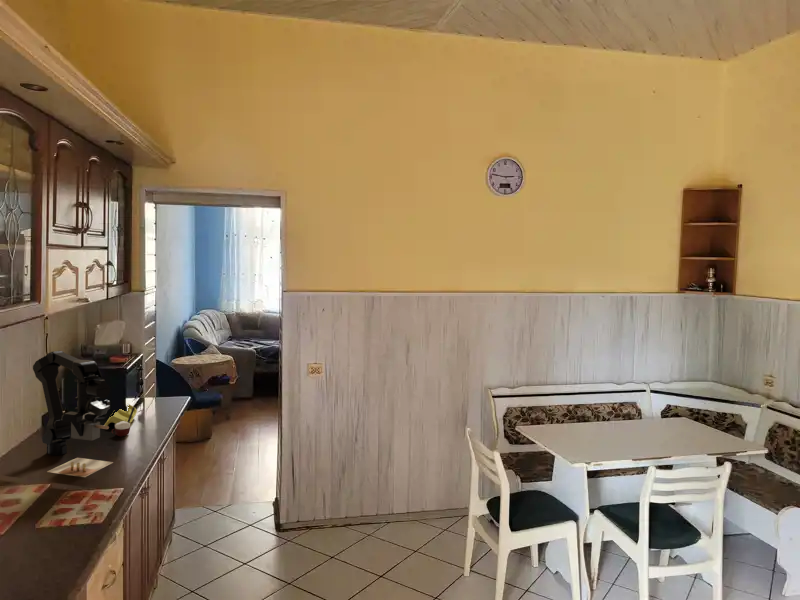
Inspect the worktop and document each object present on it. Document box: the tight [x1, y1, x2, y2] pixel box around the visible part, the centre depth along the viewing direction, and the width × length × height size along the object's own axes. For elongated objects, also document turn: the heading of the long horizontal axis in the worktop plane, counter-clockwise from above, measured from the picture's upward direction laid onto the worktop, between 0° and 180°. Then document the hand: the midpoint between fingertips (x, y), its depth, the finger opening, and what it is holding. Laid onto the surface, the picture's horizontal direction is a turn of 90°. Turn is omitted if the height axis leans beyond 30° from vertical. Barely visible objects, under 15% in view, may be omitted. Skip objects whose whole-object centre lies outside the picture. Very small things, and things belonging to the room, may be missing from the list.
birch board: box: [46, 457, 114, 478], centre depth 232 cm, size 16×16×2 cm
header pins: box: [71, 462, 86, 472], centre depth 227 cm, size 6×1×3 cm, turn 79°
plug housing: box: [70, 420, 110, 441], centre depth 235 cm, size 14×4×6 cm, turn 79°
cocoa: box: [111, 406, 136, 437], centre depth 274 cm, size 10×6×12 cm, turn 109°
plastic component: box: [103, 404, 138, 426], centre depth 294 cm, size 20×7×10 cm
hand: (85, 434), depth 236 cm, fingers closed on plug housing, 4 cm apart
